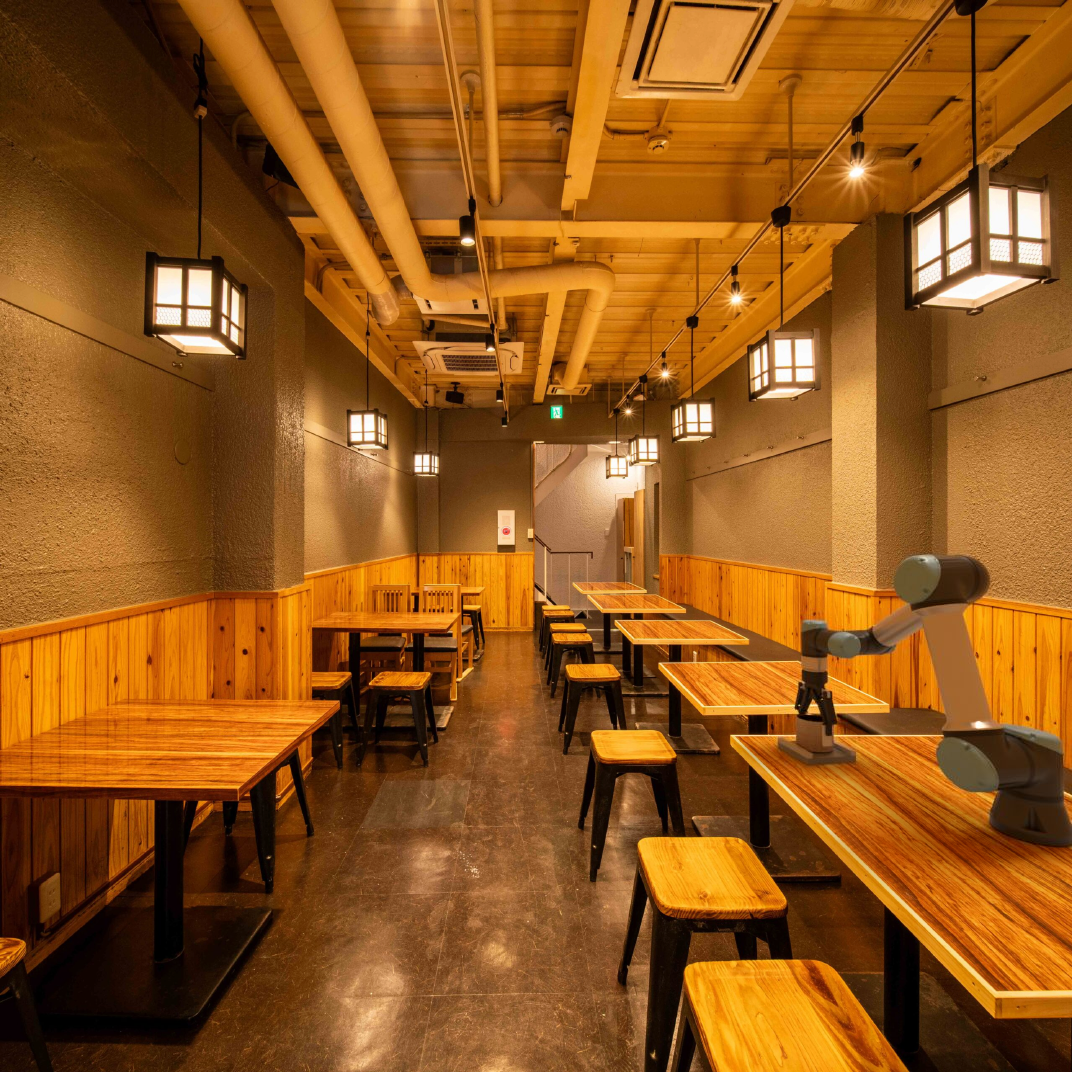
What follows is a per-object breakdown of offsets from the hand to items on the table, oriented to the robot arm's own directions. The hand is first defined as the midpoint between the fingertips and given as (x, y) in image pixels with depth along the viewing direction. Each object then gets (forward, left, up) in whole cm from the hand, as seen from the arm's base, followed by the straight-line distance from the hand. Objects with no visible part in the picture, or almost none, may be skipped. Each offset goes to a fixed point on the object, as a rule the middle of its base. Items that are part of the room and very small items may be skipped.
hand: (815, 739), depth 186 cm
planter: (0, 0, -3) cm, 3 cm away
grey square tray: (0, 0, -5) cm, 5 cm away
